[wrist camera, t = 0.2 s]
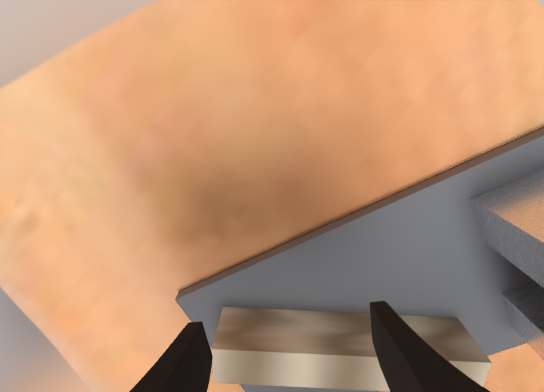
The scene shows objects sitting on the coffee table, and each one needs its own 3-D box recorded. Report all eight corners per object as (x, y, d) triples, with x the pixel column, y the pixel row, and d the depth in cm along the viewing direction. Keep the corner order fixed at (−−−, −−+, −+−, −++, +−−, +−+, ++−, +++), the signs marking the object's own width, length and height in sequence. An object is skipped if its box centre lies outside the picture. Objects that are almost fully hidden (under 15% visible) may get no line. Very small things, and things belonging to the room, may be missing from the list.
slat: (457, 317, 23) (491, 362, 19) (448, 347, 24) (478, 396, 21) (222, 306, 23) (211, 349, 20) (223, 336, 24) (213, 382, 21)
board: (588, 309, 24) (600, 318, 23) (272, 415, 29) (272, 426, 28) (547, 125, 19) (561, 127, 18) (179, 291, 24) (175, 299, 23)
